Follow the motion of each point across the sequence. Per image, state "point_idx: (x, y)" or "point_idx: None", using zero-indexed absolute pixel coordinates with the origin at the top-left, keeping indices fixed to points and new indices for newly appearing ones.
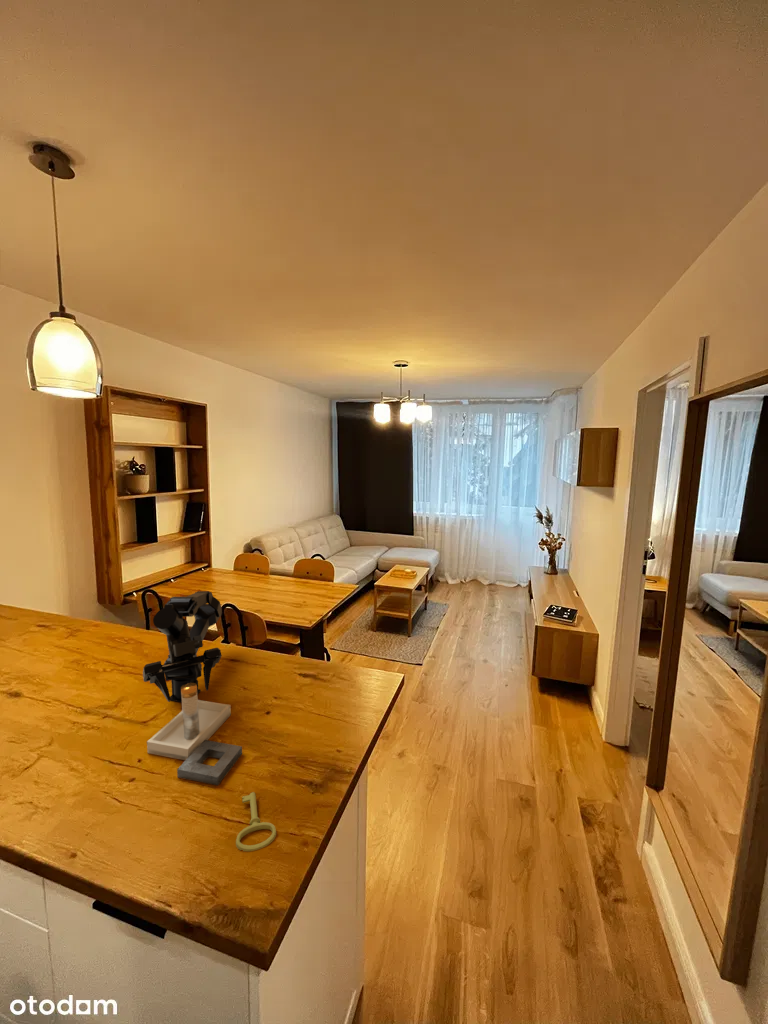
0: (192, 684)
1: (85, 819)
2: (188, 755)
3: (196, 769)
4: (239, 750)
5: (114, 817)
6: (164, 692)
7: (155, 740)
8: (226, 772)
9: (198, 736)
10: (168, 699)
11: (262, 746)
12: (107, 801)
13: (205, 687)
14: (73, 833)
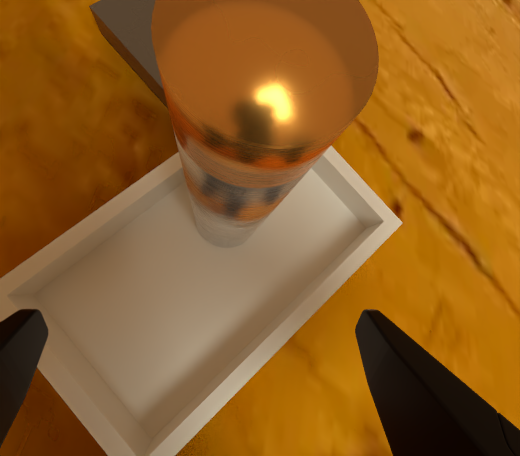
0: (208, 63)
1: (502, 73)
2: None
3: None
4: (106, 2)
5: (447, 39)
6: (446, 372)
7: (364, 236)
8: None
9: None
10: (380, 312)
11: (20, 23)
12: (466, 97)
13: (33, 373)
14: (517, 50)
